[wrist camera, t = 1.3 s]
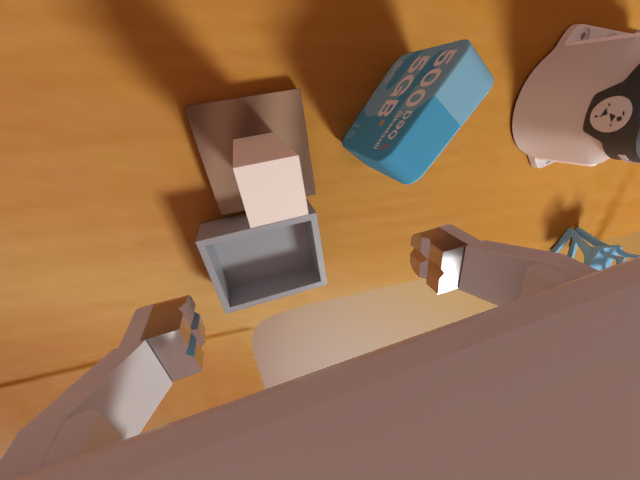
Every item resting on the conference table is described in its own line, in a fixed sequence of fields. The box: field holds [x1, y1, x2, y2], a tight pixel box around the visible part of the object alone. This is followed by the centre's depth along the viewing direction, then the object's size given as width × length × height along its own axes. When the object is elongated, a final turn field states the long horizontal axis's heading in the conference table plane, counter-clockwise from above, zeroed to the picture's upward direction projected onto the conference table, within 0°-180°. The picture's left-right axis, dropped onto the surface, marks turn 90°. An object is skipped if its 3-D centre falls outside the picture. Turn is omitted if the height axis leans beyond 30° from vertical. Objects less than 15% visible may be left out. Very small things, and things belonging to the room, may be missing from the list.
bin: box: [195, 199, 327, 314], centre depth 36 cm, size 14×11×5 cm
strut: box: [233, 132, 309, 228], centre depth 25 cm, size 4×4×14 cm
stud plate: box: [183, 89, 316, 216], centre depth 30 cm, size 12×12×4 cm
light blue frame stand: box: [550, 227, 640, 271], centre depth 52 cm, size 8×8×12 cm
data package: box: [343, 39, 494, 184], centre depth 29 cm, size 12×4×12 cm, turn 144°
